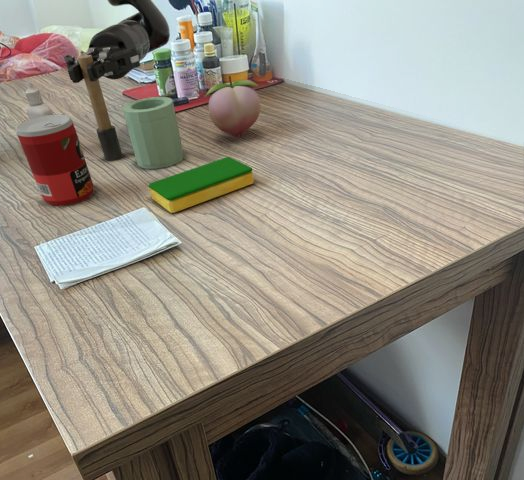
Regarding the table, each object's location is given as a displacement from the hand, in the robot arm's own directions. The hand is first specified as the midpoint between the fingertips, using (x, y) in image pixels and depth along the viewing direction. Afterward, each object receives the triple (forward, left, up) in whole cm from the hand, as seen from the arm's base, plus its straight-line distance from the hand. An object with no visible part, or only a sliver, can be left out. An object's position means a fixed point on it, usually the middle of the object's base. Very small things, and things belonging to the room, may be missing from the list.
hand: (81, 75), depth 80 cm
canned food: (-11, -7, -14) cm, 19 cm away
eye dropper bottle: (-3, +16, -14) cm, 21 cm away
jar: (+6, -7, -14) cm, 17 cm away
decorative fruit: (+21, -10, -14) cm, 27 cm away
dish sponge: (+2, -24, -14) cm, 28 cm away
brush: (+2, +2, -14) cm, 14 cm away
